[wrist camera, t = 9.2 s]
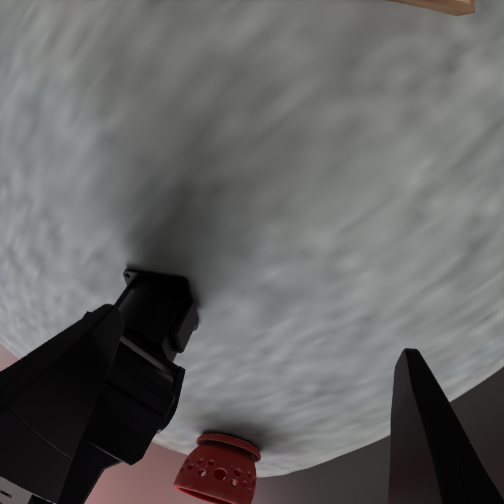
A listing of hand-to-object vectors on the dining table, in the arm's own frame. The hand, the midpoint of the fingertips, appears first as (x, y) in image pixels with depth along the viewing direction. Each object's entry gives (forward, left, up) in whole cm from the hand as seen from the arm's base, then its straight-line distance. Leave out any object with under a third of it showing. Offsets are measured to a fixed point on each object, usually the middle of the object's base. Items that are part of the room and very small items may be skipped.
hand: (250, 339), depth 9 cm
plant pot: (-9, -49, -13) cm, 52 cm away
